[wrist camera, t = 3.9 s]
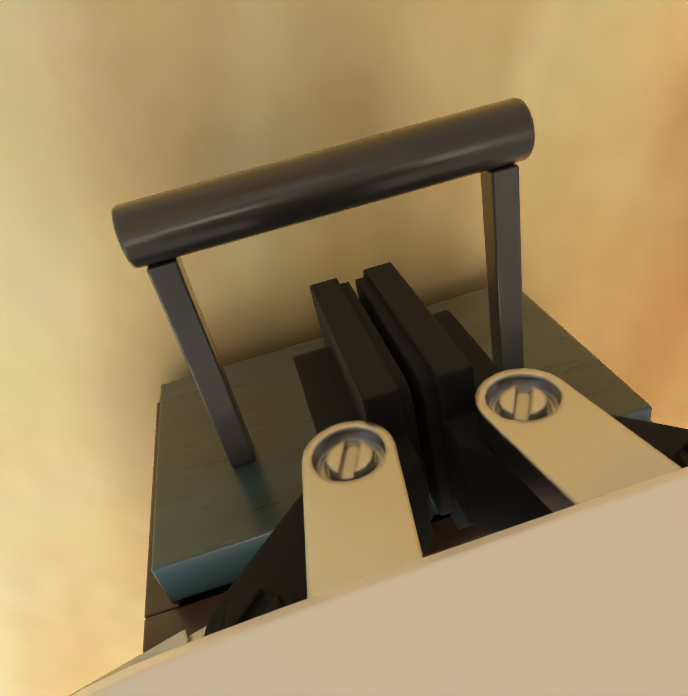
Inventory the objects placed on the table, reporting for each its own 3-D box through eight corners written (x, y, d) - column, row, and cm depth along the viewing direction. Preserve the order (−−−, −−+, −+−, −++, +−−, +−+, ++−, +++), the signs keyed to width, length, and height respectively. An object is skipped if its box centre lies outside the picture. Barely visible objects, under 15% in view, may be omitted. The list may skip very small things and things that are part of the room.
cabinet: (156, 402, 19) (141, 652, 12) (515, 294, 20) (699, 463, 13) (267, 628, 26) (299, 863, 19) (523, 540, 28) (642, 732, 20)
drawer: (58, 171, 14) (-27, 295, 8) (501, 54, 15) (696, 95, 9) (269, 613, 24) (295, 799, 19) (519, 528, 25) (615, 681, 20)
